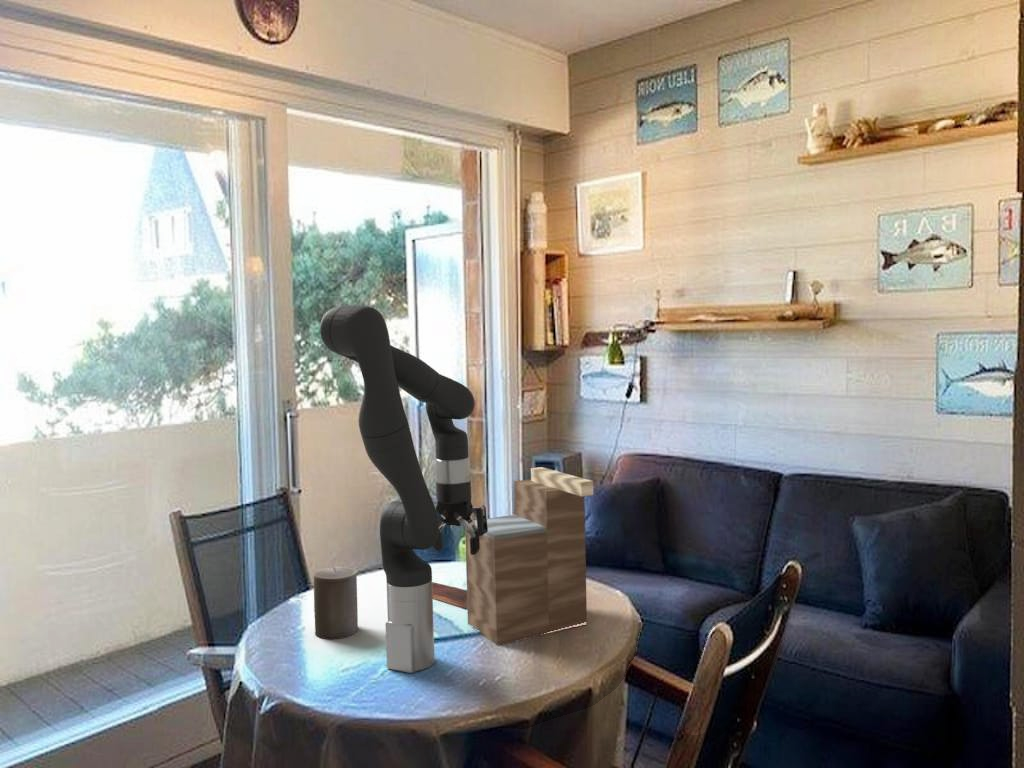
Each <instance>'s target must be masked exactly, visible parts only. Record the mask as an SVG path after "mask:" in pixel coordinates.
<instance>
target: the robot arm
mask: <svg viewBox="0 0 1024 768" xmlns="http://www.w3.org/2000/svg"><path fill="white" fill-rule="evenodd" d="M319 333H320V337H321V340H322V342H323V343H324V345H325V346H326V348H327V349H329V351H331V352H333V353H335V354H337V355H340V356H341V357H344V358H346V359H349V360H351V361H354V362H356V363H357V364H358V365H359V369H360V372H361V376H362V380H363V387H364V389H363V390H364V391H363V397H362V401H361V405H360V409H359V414H358V427H359V432H360V435H361V439H362V442H363V446H364V448H365V449H364V450H365V452H366V454H367V456H368V458H369V460H370V461H371V463H372V464H373V466H375V468H376V470H378V471H379V472H380V474H381V475H383V477H384V478H385V479H386V480H387V481H388V482H389V483H390V484H391V486H392V487H393V489H394V490H395V491H396V493H397V495H398V496H399V499H400V500H398V501H397V500H395V501H390V502H389V503H388V504H386V505H385V507H384V508H383V510H382V512H381V516H380V520H379V540H380V548H381V561H382V568H383V571H384V574H385V577H386V578H385V579H386V602H387V603H386V604H387V605H386V607H387V608H386V609H387V621H386V622H385V624H384V625H385V646H386V647H385V648H386V649H385V652H386V669H390V670H394V671H399V672H404V673H409V674H413V673H415V672H418V671H422V670H425V669H427V668H430V667H432V665H434V663H435V636H434V635H435V634H434V631H435V630H434V602H433V600H434V599H433V595H432V582H433V570H432V566H431V564H430V563H429V562H427V561H426V560H424V559H422V558H421V557H420V556H419V555H417V554H416V552H415V551H414V550H421V551H422V550H423V551H424V550H428V549H430V548H432V547H433V549H434V551H435V552H441V551H442V550H443V533H442V532H441V531H442V530H443V528H444V527H445V526H455V527H462V528H463V530H466V531H467V532H468V533H469V535H470V536H471V538H470V553H471V555H475V554H476V553H477V552H478V551H479V549H480V542H479V537H480V536H482V535H484V534H485V533H487V532H488V527H487V519H488V518H487V516H488V515H487V507H486V506H485V505H481V506H473V504H472V473H471V464H470V455H469V452H470V451H469V438H468V434H467V432H466V431H465V430H463V429H460V428H458V427H456V425H455V424H454V421H453V420H464V419H466V418H468V417H470V416H471V414H473V412H474V410H475V405H476V403H475V402H476V401H475V397H474V395H473V393H472V391H471V390H470V389H469V388H468V387H467V386H466V385H464V384H462V383H460V382H458V381H456V380H454V379H453V378H450V377H447V376H445V375H442V374H441V373H439V372H438V371H437V370H435V369H434V368H433V367H431V366H430V365H429V364H427V363H426V362H425V361H423V360H422V359H421V358H419V357H417V356H415V355H413V354H411V353H409V352H406V351H404V350H402V349H400V348H397V347H396V346H393V345H391V339H390V334H389V329H388V327H387V323H386V321H385V318H384V317H383V315H382V314H381V312H380V311H379V310H378V309H376V308H374V307H372V306H367V305H366V306H364V305H363V306H362V305H360V306H357V305H354V306H353V305H342V306H341V305H340V306H335V307H333V308H331V309H329V310H328V311H326V313H325V314H323V317H322V318H321V321H320V327H319ZM399 388H400V389H402V391H404V392H406V393H407V394H409V395H410V396H412V397H413V398H414V399H416V400H417V401H419V402H422V403H424V404H425V410H426V411H425V412H426V415H427V418H428V421H429V422H428V423H429V425H430V428H431V431H432V434H433V437H434V441H435V443H434V444H435V445H434V446H435V448H434V449H435V469H434V471H435V472H434V473H435V490H436V491H435V493H436V495H435V496H436V500H437V501H436V502H437V503H434V501H433V499H432V497H431V493H430V491H429V489H428V486H427V484H426V480H425V479H424V475H423V472H422V468H421V466H420V462H419V458H418V455H417V453H416V448H415V446H414V440H413V437H412V436H413V435H412V431H411V428H410V425H409V421H408V418H407V414H406V411H405V409H404V404H403V401H402V396H401V393H400V389H399ZM472 514H473V515H474V517H475V518H476V520H477V526H476V525H475V521H474V519H473V517H472ZM438 515H439V517H438ZM467 522H468V523H467ZM477 527H478V528H477Z"/></svg>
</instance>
